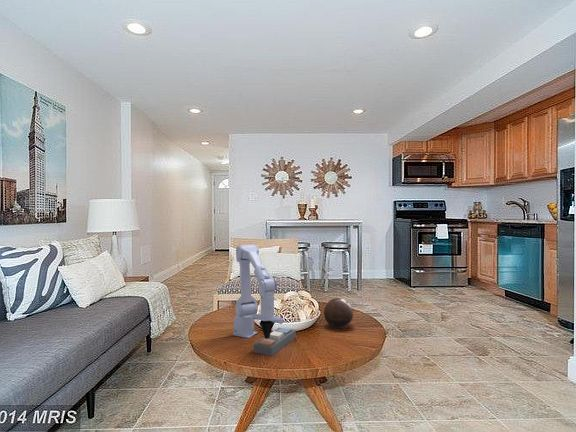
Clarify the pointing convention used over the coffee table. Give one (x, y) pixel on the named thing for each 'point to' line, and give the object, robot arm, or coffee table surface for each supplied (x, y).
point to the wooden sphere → (338, 313)
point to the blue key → (284, 330)
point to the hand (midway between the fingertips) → (267, 337)
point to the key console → (276, 346)
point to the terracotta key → (267, 342)
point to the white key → (276, 335)
